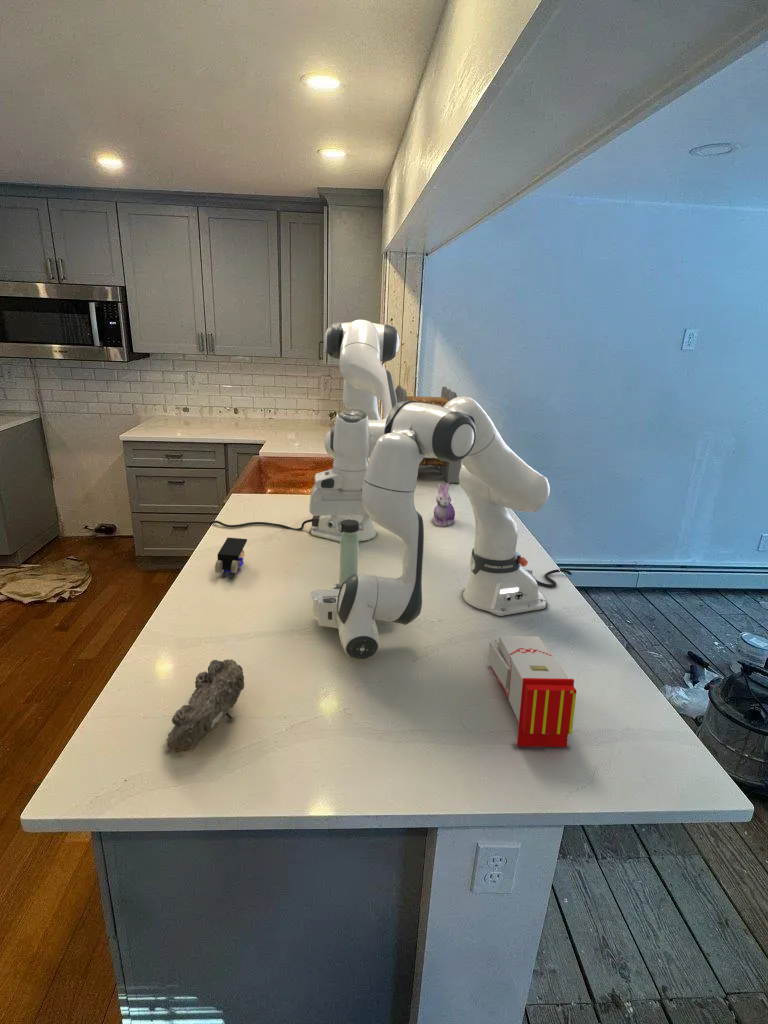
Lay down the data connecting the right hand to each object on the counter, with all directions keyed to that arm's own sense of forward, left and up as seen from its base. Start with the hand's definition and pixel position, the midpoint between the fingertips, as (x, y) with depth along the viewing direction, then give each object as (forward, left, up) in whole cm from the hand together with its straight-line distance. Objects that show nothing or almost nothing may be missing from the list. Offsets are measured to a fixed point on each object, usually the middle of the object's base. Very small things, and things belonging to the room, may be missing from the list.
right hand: (347, 585), depth 150 cm
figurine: (-42, -58, -5) cm, 72 cm away
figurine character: (+32, -23, -5) cm, 40 cm away
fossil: (+30, +41, -5) cm, 52 cm away
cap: (0, +1, +18) cm, 18 cm away
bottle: (0, +1, -5) cm, 5 cm away
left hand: (0, +1, +16) cm, 16 cm away
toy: (-32, +43, -5) cm, 54 cm away
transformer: (-48, -124, -5) cm, 134 cm away
